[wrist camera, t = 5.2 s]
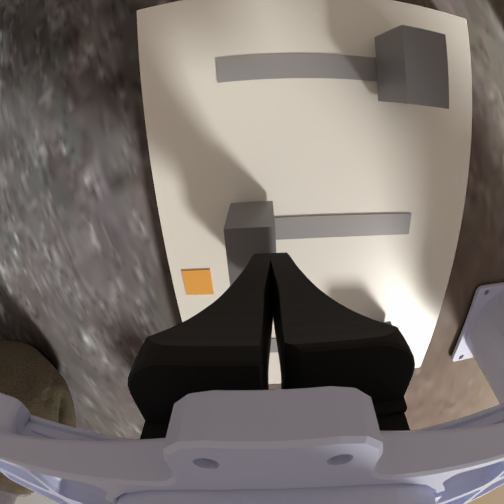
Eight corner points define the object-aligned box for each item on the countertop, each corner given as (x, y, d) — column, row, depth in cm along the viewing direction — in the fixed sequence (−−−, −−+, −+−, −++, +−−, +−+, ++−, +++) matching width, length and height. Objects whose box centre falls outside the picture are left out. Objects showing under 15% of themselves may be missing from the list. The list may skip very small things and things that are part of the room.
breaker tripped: (272, 200, 15) (275, 226, 12) (275, 259, 17) (277, 295, 14) (230, 203, 15) (223, 228, 12) (236, 261, 17) (231, 297, 14)
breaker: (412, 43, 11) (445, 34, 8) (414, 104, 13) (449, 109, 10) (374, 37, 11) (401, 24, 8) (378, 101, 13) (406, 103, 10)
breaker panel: (448, 24, 12) (467, 18, 10) (412, 350, 23) (420, 368, 21) (149, 18, 13) (135, 10, 11) (202, 365, 24) (198, 385, 22)
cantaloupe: (-11, 281, 21) (-105, 392, 8) (111, 367, 25) (53, 516, 11) (-11, 357, 27) (-66, 444, 13) (81, 420, 30) (44, 521, 17)
